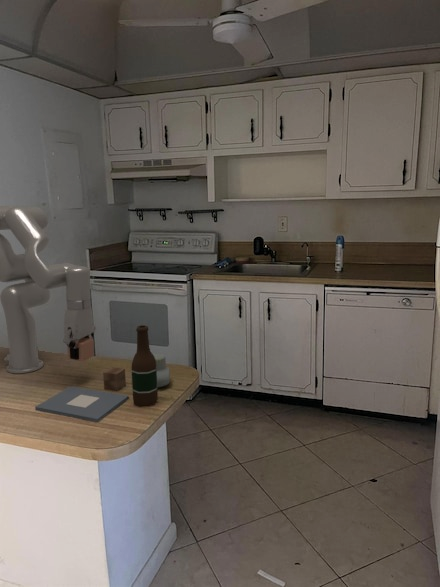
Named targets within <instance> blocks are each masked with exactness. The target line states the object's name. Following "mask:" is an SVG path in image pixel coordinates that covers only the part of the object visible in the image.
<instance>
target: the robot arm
mask: <svg viewBox="0 0 440 587" xmlns="http://www.w3.org/2000/svg"><path fill="white" fill-rule="evenodd" d="M48 223H49V219H48V215H47V213H46V212H45V210H43V209H42V208H41V207H39V206H24V205H0V231H5V230H8V231H9V230H10V231H11V233H12V234H13V236H14V237H15V238H16V239H17V241H18V242H19V243H20V245H21V247H23V248H24V249H25V252H24V253H22V254H21V253H20V254H16V253H15V251H14V249H13V247H12V244H11V243H10V241H9V240H8V239H7V237H5V236H4V235H3V234H1V233H0V283H13V282H18V281H24V282H20V283H14V284H11V285H8V286H6V287H4V288H3V289H2V290H1V292H0V303H1V307H2V309H3V310H2V311H3V312H4V317H5V325H6V331H7V341H8V349H9V350H8V351H9V353H7V354H6V356H5V357H4V358H3V359H4V361H6V362H8V364H7V366H6V371H7V372H8V373H11V374H26V373H32V372H35V371H37V370H40V369H41V368H43V367H44V361H43V360H42V359H39V352H38V350H39V349H38V342H37V341H38V340H37V330H36V321H35V318H34V316H33V314H32V313H30V312H31V311H29V309H32V308H34V307H35V308H36V307H39V306H43V305H45V304H47V303H48V302H49V300H50V297H51V291H50V289H55V288H60V287H65V293H66V294H65V295H66V296H65V297H66V309H65V313H64V322H63V335H64V338H63V344H65V345H66V346H68V347H69V348H70V358H71V359H70V360H72V359H75V360H74V361H77V360H78V359H79V348H77V346H78V341H79V339H81V338H83V337H85V338H91V339H93V336H94V334H95V331H96V330H97V328H96V326H95V325H94V324H95V323H94V316H93V315H94V314H93V310H92V303H91V301H92V300H91V280H90V279H91V276H90V269H89V267H87V266H84V265H83V266H82V265H77V264H73V263H70V262H63V263H56V264H49V265H46V264H45V263H44V262H43V261H42V260H41V258H40V257H39V253H40V252H42V251H43V250H45V248H46V247H47V246H48V245H49V240H50V238H49V236H48V235H47V234H46V232H45V231H44V230H45V228H46V227H47V226H48ZM73 340H74V341H75V343H73Z"/></svg>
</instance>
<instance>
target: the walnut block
mask: <svg viewBox="0 0 440 587" xmlns="http://www.w3.org/2000/svg"><path fill="white" fill-rule="evenodd" d="M102 374H103V386H104V390H107V391H112V392H119V391H120V390H122V389H124V388H125V387H126V386H127V382H126V369H125V368H123V367H122V368H121V367H113V366H111V367H110V368H108V369H106V370H104V371H103V373H102Z"/></svg>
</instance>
